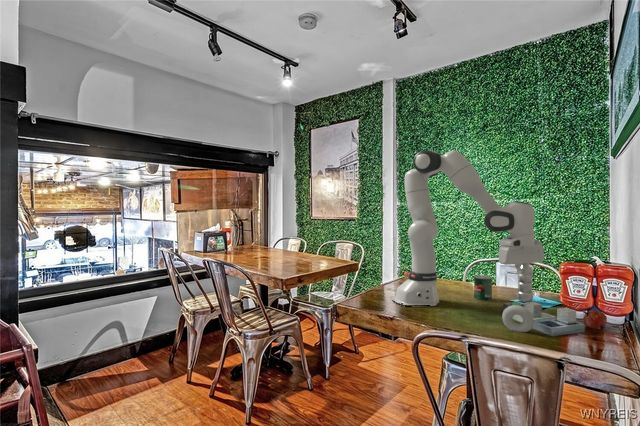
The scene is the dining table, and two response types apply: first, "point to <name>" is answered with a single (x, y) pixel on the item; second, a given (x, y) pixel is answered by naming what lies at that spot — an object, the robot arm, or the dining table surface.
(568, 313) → the block
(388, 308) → the dining table surface
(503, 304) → the console
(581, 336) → the dining table surface
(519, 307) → the donut
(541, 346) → the dining table surface
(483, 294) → the canned tomato
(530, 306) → the billet
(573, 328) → the pallet
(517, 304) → the button
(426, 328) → the dining table surface
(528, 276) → the plastic bottle
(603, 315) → the pomegranate
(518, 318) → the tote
